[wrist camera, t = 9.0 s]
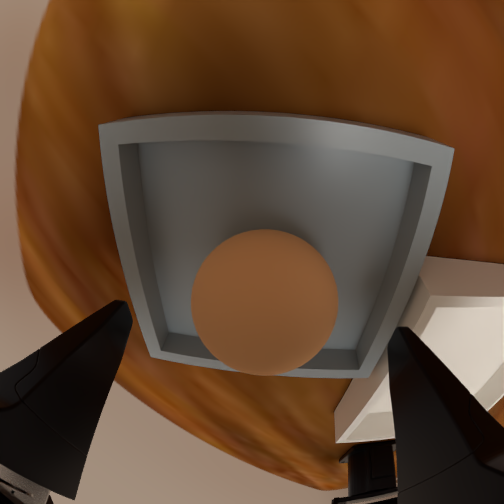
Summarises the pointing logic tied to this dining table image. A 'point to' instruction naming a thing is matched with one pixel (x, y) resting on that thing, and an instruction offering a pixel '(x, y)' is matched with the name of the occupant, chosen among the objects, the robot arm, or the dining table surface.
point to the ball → (264, 302)
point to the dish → (438, 343)
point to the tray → (272, 216)
